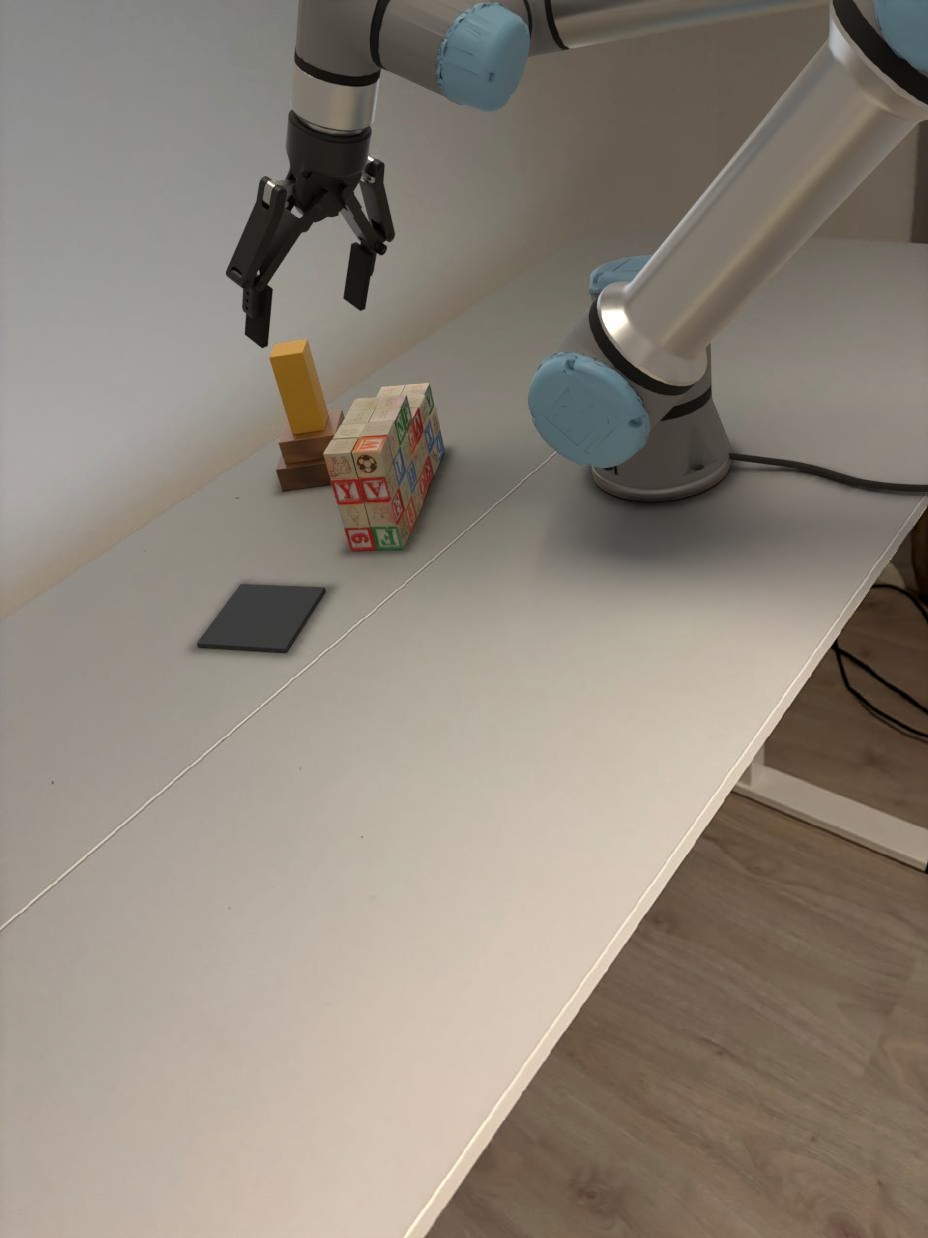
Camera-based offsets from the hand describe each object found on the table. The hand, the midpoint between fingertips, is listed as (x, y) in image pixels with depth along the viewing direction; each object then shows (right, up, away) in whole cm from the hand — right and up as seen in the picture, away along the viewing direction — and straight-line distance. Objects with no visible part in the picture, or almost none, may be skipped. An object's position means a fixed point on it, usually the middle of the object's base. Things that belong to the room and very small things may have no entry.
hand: (307, 321), depth 107 cm
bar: (-2, -7, +18) cm, 19 cm away
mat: (-4, -31, -3) cm, 31 cm away
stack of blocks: (+9, -17, +12) cm, 23 cm away
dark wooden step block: (-1, -12, +21) cm, 25 cm away
